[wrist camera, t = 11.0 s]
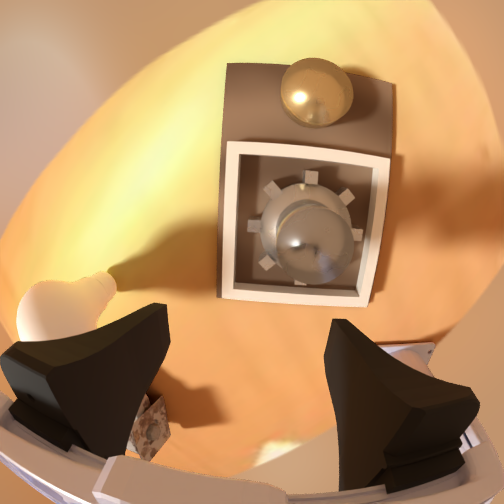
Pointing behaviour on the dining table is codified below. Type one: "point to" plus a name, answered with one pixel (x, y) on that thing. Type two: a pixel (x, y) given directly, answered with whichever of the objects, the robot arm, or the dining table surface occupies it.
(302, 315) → the dining table surface
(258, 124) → the carrier board
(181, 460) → the dining table surface
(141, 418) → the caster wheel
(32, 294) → the lightbulb
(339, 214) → the planet gear
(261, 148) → the carrier pocket
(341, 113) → the golden brown dome
